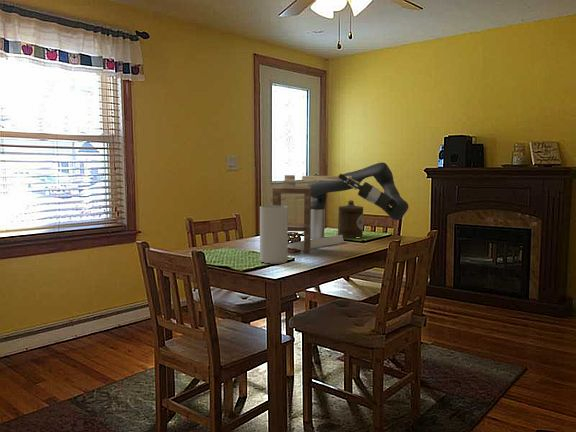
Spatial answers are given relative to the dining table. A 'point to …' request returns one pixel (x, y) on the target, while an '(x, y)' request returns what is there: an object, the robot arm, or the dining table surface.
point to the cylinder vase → (274, 234)
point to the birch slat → (323, 177)
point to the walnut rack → (307, 211)
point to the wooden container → (350, 220)
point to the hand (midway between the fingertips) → (339, 175)
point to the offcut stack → (289, 181)
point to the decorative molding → (318, 242)
